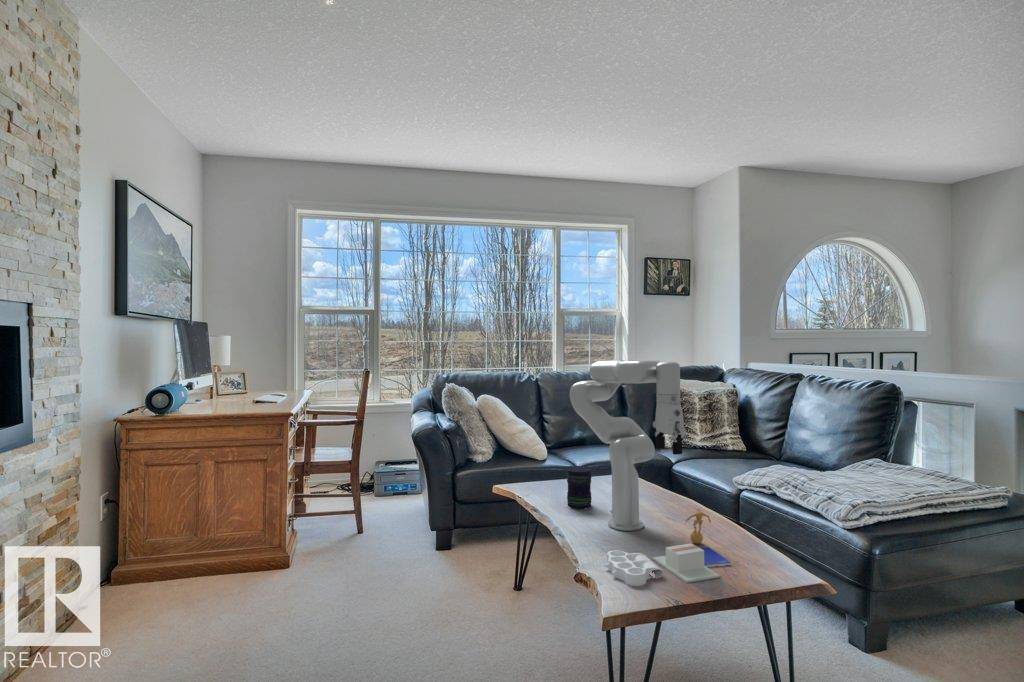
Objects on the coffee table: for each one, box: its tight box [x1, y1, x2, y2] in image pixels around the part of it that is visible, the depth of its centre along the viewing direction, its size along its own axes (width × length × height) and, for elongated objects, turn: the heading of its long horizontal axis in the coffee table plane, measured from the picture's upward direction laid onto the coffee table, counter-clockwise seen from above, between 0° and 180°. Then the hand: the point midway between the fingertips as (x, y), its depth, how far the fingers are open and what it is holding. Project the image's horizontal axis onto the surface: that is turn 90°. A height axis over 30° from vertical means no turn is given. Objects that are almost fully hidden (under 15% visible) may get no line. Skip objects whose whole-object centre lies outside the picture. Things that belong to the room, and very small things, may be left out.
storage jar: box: [566, 465, 592, 510], centre depth 221 cm, size 10×10×15 cm
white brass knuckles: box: [603, 549, 664, 587], centre depth 157 cm, size 3×18×15 cm
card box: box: [665, 542, 704, 572], centre depth 159 cm, size 9×6×5 cm, turn 110°
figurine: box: [685, 508, 712, 545], centre depth 178 cm, size 8×6×12 cm
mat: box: [652, 555, 721, 584], centre depth 159 cm, size 17×11×1 cm, turn 17°
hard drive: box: [699, 546, 732, 568], centre depth 166 cm, size 2×8×12 cm
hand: (668, 451), depth 179 cm, fingers open, 9 cm apart
